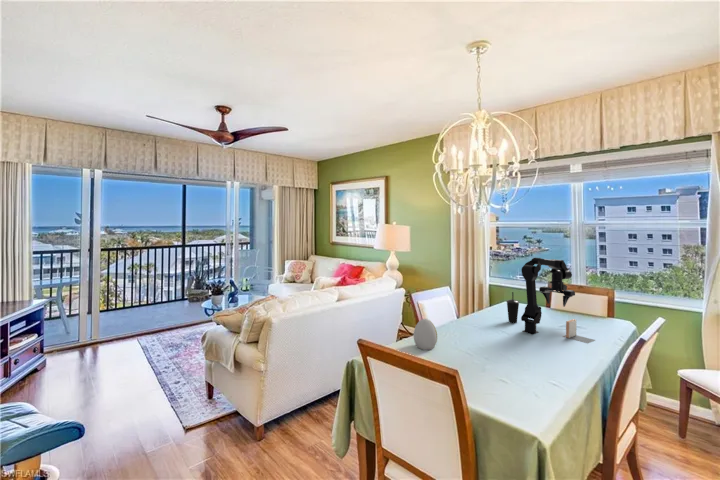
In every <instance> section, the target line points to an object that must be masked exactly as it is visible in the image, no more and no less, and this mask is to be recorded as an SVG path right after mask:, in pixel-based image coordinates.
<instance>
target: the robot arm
mask: <svg viewBox="0 0 720 480" xmlns="http://www.w3.org/2000/svg"><path fill="white" fill-rule="evenodd" d="M542 266H547V267H548V268H551V270H549V273H550V274H551V281H550V284H551V285H550V286H551V287H550V286H540V287H539V288H538V289H539V292H541V294H542V295H543V296H544V299H545V300H546V302H547V304H549V305H550V298H551V297H550V295H551V293H557V294H561V295H562V294H563V295H562V307H566V305H567V303H568V301H569V299H570V298H572V297H573V296H576V292H575V290H570V289H568V285H566V284H565V283H564V281H563V280H569V279H571V278H572V276H573V274H572V272H571V270H569V269H570V268H569V267H567V264H566V263H565V261H564V260H563V259H554V258H551V259H548V258H541V257H532V259H530V260H529V261H527V262H525V263H524V265H523V266H522V267H521V269H520V270H521V274H522V277H523V279H524V280H525V289H526V302H527V304H526V306H525V307H524V312H523V313H522V315H521V317H520V319H521V321H522V322H524V329H523V330H521V331H522V333H525V334H530V335H536V334H538V333H540V332H539V331H538V330H537V324H540V323H541V320H542V319H541V318H542V314H543V313H542V307H541V306H539V305H538V301H537V288H536V280H537V278H538V277H539V272H540V271H541V270H542Z"/></svg>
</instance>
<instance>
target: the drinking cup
mask: <svg viewBox="0 0 720 480" xmlns="http://www.w3.org/2000/svg"><path fill="white" fill-rule="evenodd" d="M511 295H512V298H511V299H508V300H506V307H507V319H508V323H509V322H510V323H509V324H517V323H518V314H519V308H520V307H519V305H520V301H518V300H517V299H514V291H512V292H511Z"/></svg>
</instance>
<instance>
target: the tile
mask: <svg viewBox="0 0 720 480" xmlns="http://www.w3.org/2000/svg"><path fill="white" fill-rule="evenodd" d="M565 335H566V339H569V338H570V337H573V336H576V335H577V319H575V318H574V319H569V320H567V321H565Z"/></svg>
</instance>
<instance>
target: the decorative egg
mask: <svg viewBox="0 0 720 480" xmlns="http://www.w3.org/2000/svg"><path fill="white" fill-rule="evenodd" d="M437 332H438V331H437V327H436V326H435V324H434V323H433V322H432V321H431V320H430V319H428V318H422V319H420V320H419V321H418V322H417V323H416V325H415V326H414V331H413V341H414V343H415V346H416V347H417V348H418V349H420V350H423V351H426V350H427V351H428V350H432V349H434V348H435V346H436V345H437V342H438V333H437Z"/></svg>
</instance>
